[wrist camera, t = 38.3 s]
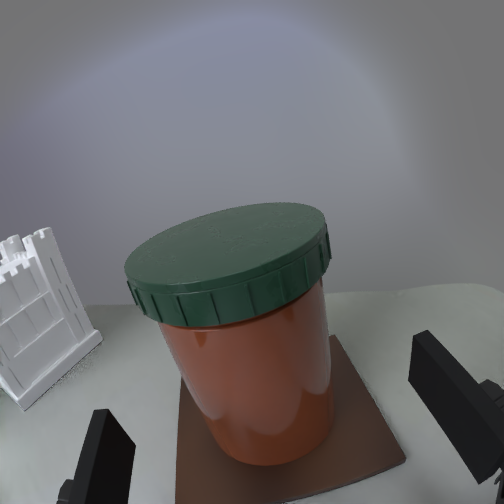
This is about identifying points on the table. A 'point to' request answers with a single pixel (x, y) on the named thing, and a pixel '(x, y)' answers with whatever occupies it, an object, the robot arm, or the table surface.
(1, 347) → the castle model
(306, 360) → the jar
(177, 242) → the lid
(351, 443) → the coaster
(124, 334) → the table surface
